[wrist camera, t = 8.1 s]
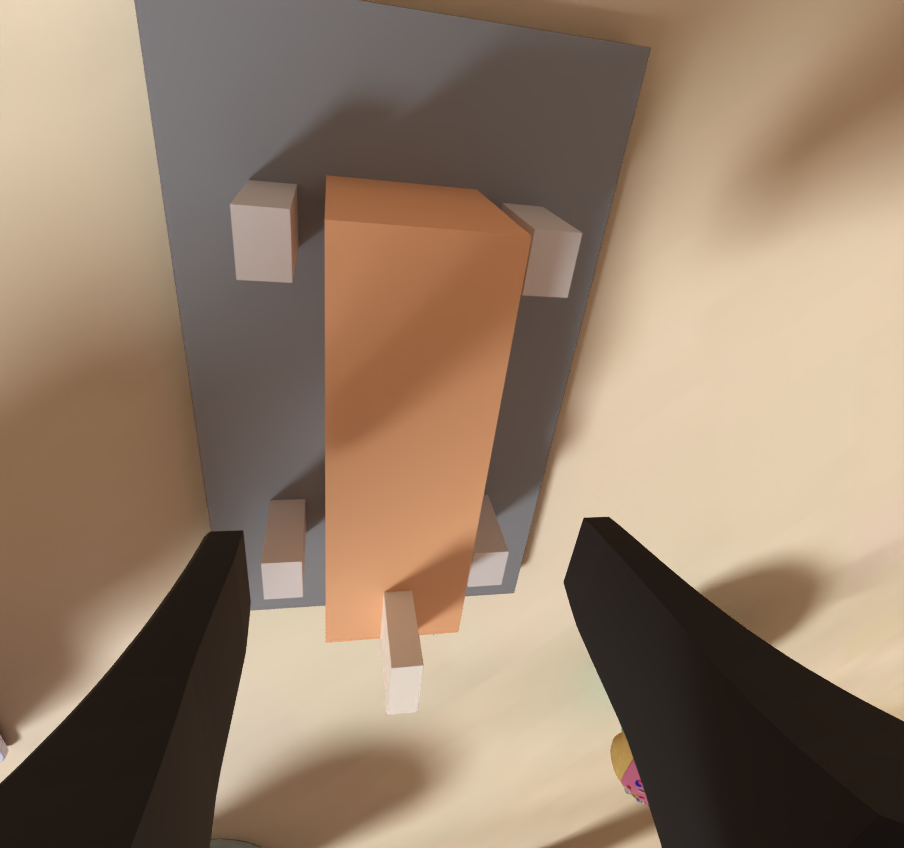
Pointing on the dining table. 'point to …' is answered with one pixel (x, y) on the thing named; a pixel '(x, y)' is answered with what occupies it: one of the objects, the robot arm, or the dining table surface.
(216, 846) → the drinking glass
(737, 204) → the dining table surface
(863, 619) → the dining table surface
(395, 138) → the grey pegged plate
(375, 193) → the long tan brick
